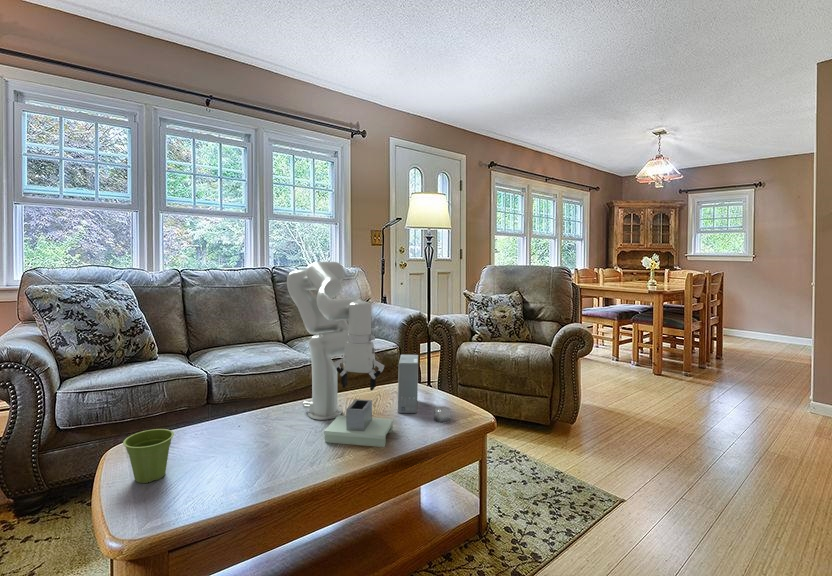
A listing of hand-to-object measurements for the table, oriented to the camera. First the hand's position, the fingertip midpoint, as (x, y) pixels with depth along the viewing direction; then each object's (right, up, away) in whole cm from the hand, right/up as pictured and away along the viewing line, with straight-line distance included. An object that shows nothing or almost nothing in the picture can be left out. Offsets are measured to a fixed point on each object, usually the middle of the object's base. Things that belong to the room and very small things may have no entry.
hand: (358, 387), depth 146 cm
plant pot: (-54, -19, -27) cm, 63 cm away
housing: (0, -13, 0) cm, 13 cm away
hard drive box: (+16, -15, +30) cm, 37 cm away
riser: (0, -17, +1) cm, 17 cm away
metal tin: (+29, -16, +16) cm, 37 cm away
